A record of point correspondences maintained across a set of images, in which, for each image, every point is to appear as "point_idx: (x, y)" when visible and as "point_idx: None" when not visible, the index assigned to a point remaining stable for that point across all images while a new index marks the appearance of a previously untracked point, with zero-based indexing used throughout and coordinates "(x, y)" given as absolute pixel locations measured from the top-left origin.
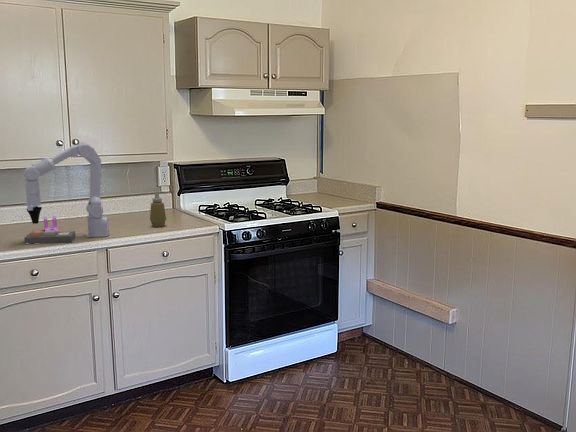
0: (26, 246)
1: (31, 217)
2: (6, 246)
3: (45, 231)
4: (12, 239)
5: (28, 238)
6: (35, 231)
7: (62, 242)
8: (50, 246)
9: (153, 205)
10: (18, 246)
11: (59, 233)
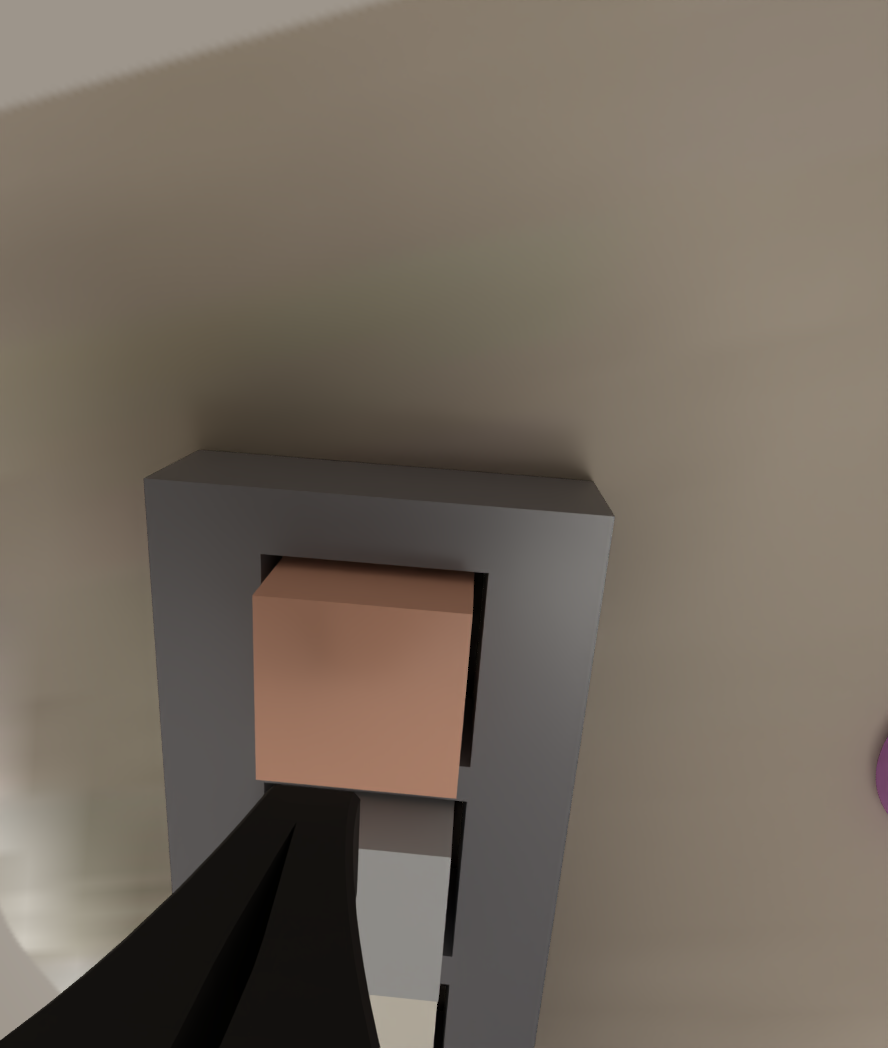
0: (45, 502)
1: (145, 946)
2: (65, 134)
3: None
4: (696, 104)
5: (158, 548)
6: (393, 682)
7: None
8: (27, 819)
9: None
10: (52, 369)
11: (372, 996)
